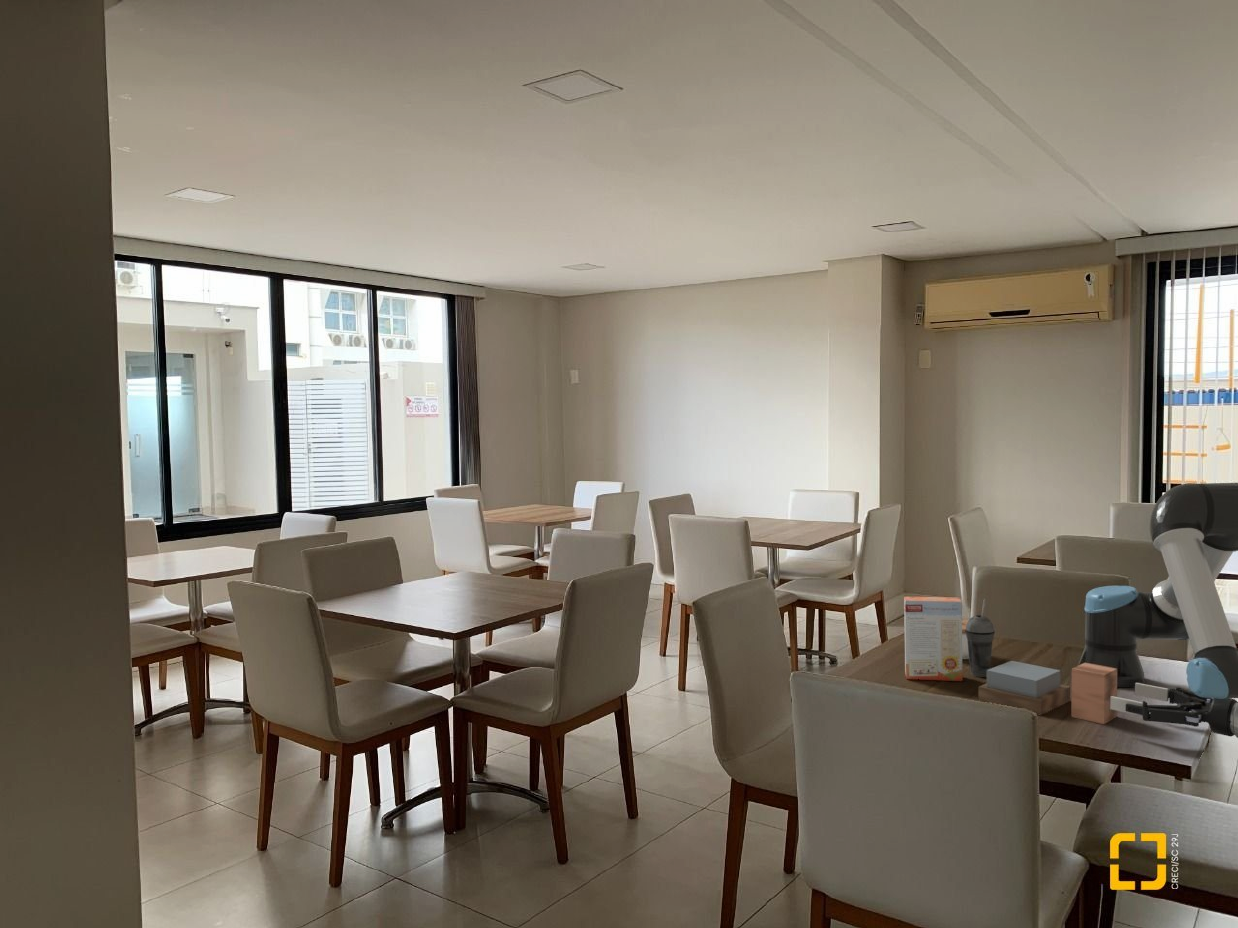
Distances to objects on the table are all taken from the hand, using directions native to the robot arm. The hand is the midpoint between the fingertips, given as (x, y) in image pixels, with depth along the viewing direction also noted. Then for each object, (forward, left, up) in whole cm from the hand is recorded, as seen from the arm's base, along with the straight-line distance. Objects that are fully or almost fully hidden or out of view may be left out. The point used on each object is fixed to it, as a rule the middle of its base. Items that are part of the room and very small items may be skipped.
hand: (1123, 695), depth 203 cm
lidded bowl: (-27, -53, -7) cm, 60 cm away
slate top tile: (0, -22, -3) cm, 23 cm away
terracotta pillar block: (-1, -6, -6) cm, 9 cm away
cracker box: (-3, -47, -7) cm, 48 cm away
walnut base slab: (-1, -22, -7) cm, 23 cm away
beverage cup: (-14, -40, -7) cm, 43 cm away
